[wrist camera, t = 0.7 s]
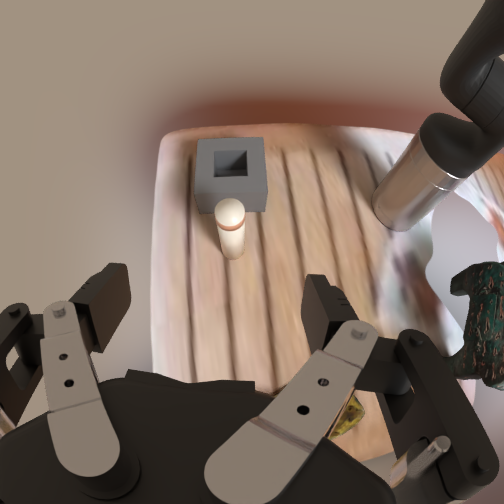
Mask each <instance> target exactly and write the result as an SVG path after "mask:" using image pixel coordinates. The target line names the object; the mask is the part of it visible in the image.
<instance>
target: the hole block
mask: <svg viewBox="0 0 504 504" xmlns="http://www.w3.org/2000/svg"><path fill="white" fill-rule="evenodd" d="M267 194H268V186H267V175H266V163H265V152H264V141H263V137H242V138H214V139H198V145H197V157H196V170H195V184H194V196H195V199H196V203H197V206H198V210H199V213H200V214H208V213H214V212H215V207H216V205H217V204H218V203H219V202H220V201H221V200H223V199H226V198H234V199H237V200H239V201H240V202H241V203H242V204H243V206H244V209H245V212H265V207H266V201H267Z"/></svg>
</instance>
